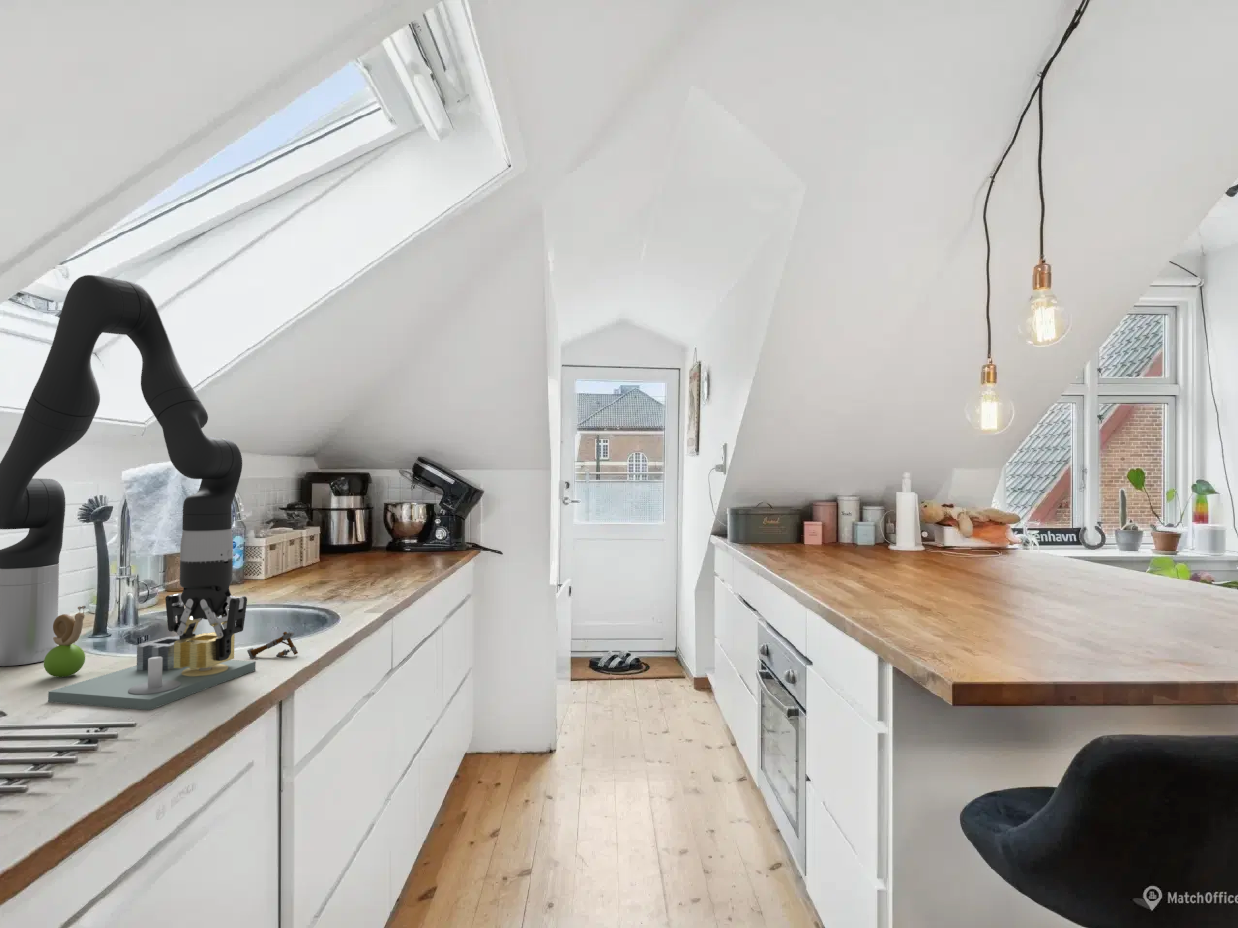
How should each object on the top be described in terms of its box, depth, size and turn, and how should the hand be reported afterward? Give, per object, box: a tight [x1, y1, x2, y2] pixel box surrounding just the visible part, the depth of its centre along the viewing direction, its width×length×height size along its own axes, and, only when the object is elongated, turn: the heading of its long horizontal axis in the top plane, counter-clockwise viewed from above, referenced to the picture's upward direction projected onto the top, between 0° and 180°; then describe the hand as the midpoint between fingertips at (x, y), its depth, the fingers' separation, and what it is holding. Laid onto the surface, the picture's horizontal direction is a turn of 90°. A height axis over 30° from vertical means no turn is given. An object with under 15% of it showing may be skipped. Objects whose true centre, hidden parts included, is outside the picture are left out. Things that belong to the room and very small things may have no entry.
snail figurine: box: [43, 605, 87, 678], centre depth 114 cm, size 5×6×12 cm
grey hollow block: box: [136, 635, 180, 671], centre depth 116 cm, size 6×8×4 cm
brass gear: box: [174, 631, 236, 669], centre depth 113 cm, size 6×8×4 cm
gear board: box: [47, 657, 256, 711], centre depth 110 cm, size 18×21×6 cm
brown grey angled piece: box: [246, 631, 299, 660], centre depth 127 cm, size 2×8×5 cm, turn 100°
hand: (205, 658), depth 113 cm, fingers closed on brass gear, 6 cm apart
